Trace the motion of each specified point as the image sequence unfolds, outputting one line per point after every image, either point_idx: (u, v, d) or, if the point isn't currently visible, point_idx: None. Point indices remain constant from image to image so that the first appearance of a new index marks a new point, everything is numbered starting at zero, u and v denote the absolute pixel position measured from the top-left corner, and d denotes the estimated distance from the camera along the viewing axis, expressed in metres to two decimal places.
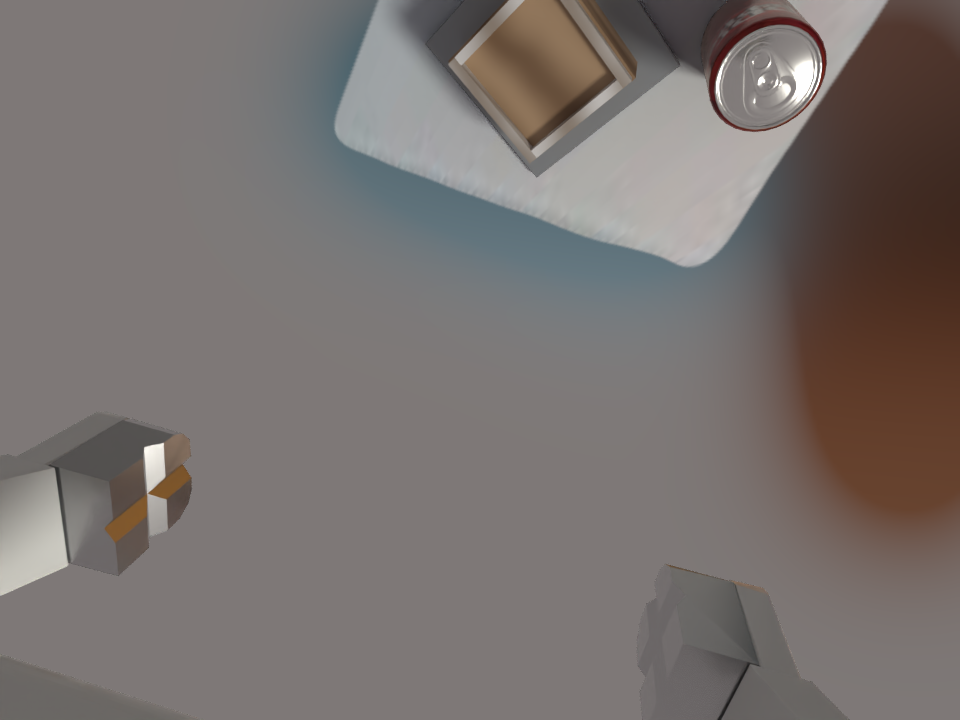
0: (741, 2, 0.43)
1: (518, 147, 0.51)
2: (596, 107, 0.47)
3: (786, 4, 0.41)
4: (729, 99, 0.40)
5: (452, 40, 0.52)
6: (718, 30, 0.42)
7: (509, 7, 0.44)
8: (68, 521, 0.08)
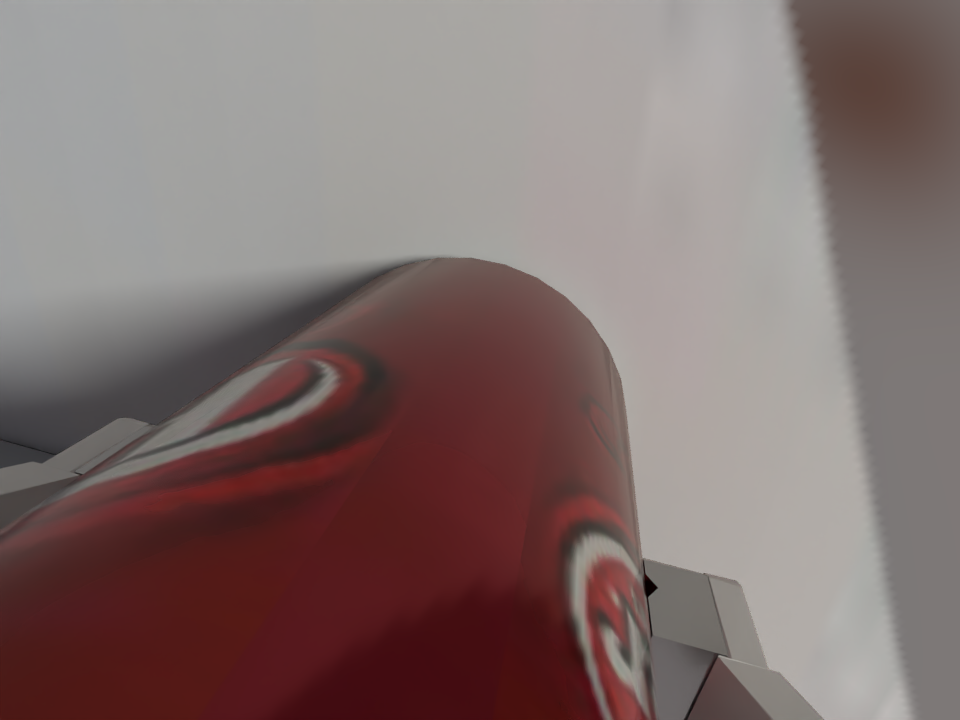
0: None
1: None
2: None
3: (287, 347, 0.07)
4: None
5: None
6: None
7: None
8: None
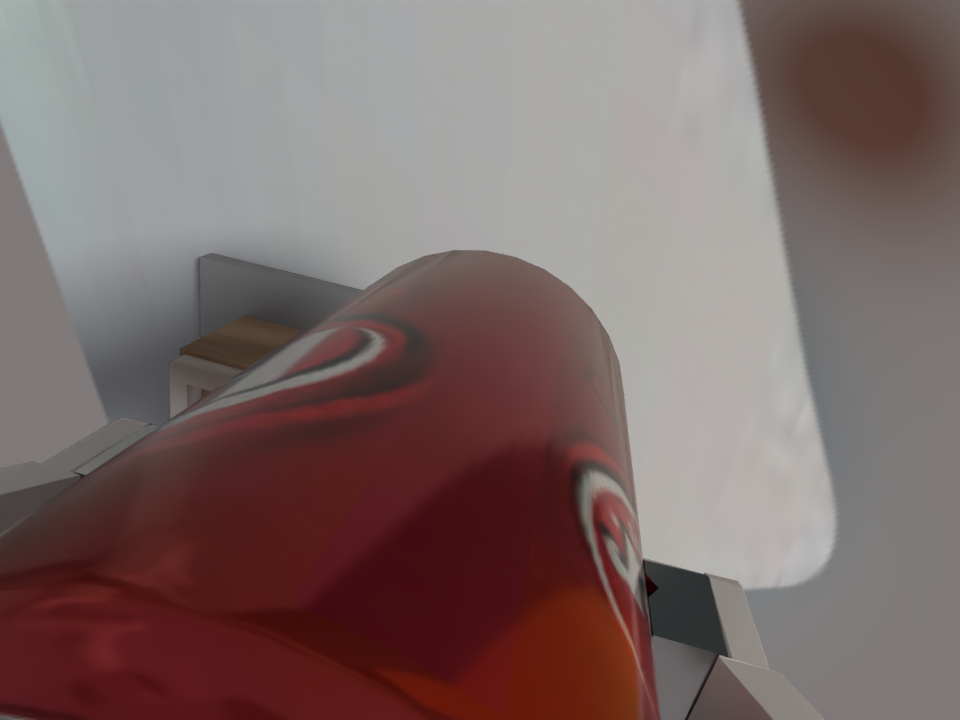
0: None
1: None
2: None
3: (332, 320, 0.09)
4: None
5: None
6: None
7: None
8: None
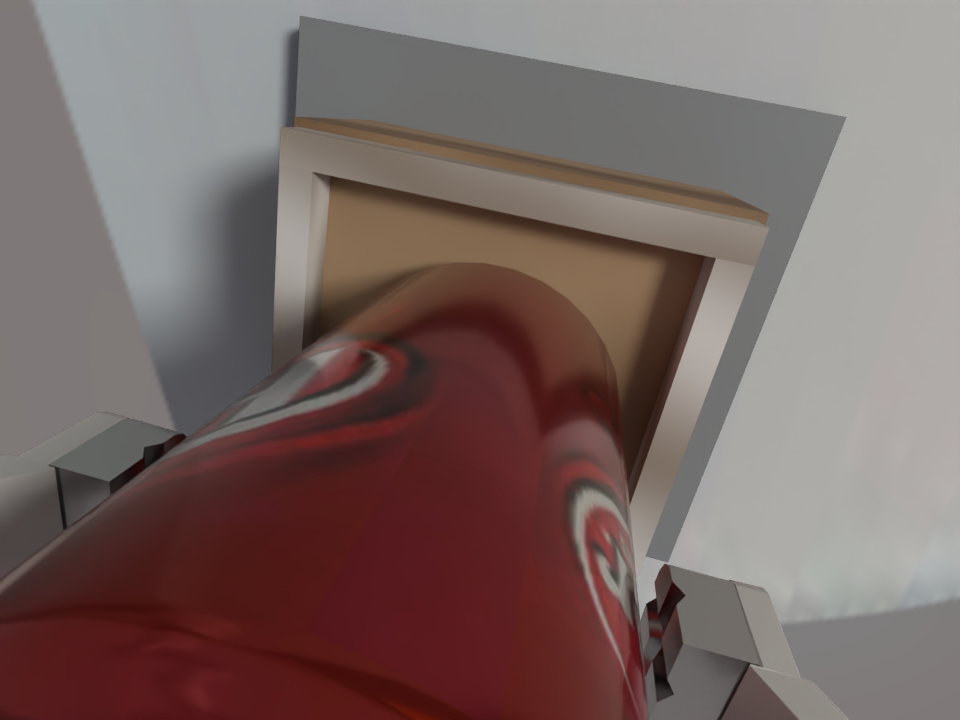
0: None
1: None
2: (708, 370, 0.13)
3: (336, 339, 0.09)
4: None
5: None
6: None
7: (288, 301, 0.14)
8: (68, 521, 0.08)
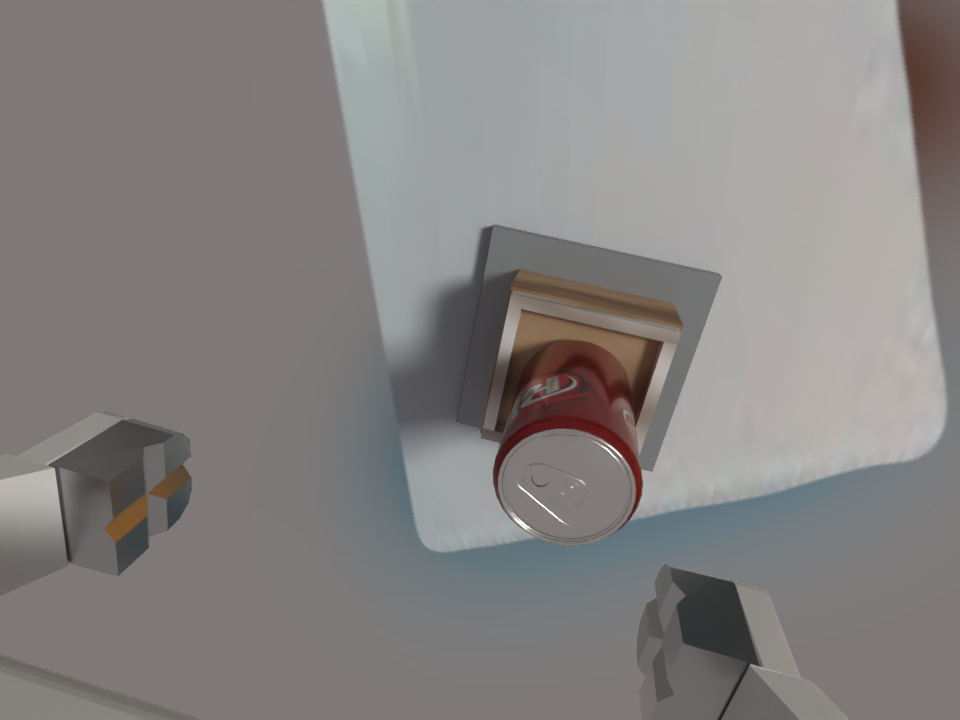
0: (519, 385, 0.35)
1: None
2: (662, 380, 0.36)
3: (553, 372, 0.32)
4: (545, 526, 0.29)
5: (478, 403, 0.46)
6: None
7: (504, 353, 0.37)
8: (68, 521, 0.08)
